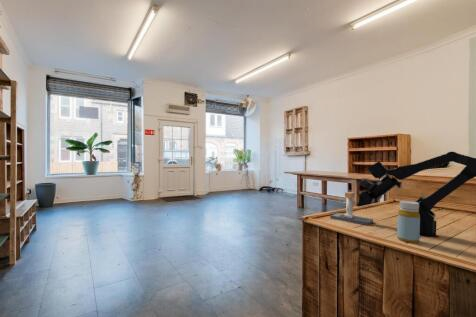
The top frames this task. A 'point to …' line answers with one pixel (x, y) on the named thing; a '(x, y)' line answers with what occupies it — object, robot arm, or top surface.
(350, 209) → the fader knob
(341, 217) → the console
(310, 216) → the top surface
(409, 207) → the bottle
